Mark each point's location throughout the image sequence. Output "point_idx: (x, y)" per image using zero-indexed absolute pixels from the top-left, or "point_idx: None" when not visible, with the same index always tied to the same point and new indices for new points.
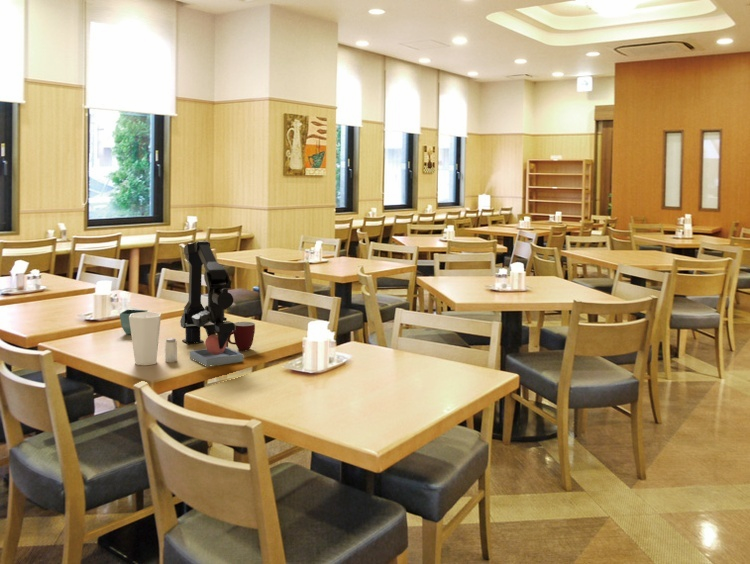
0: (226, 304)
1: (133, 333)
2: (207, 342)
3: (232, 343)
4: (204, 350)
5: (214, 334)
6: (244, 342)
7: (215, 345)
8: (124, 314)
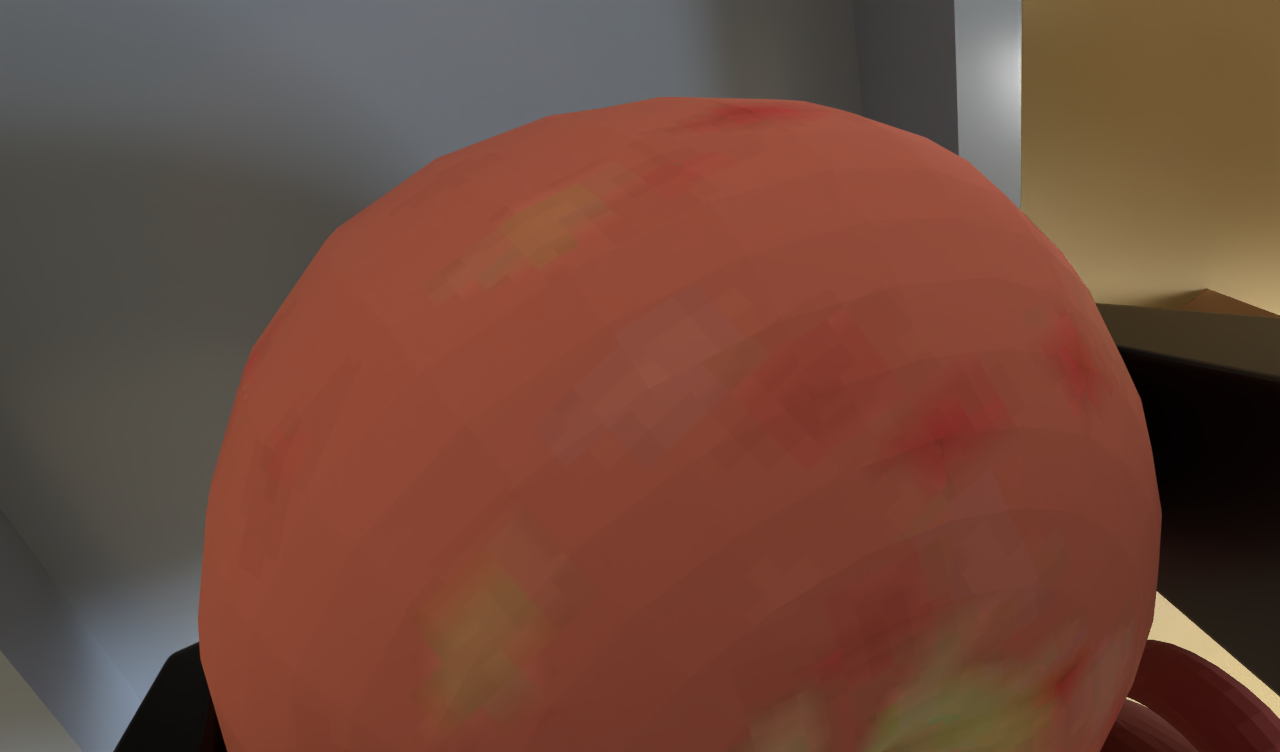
0: None
1: None
2: (552, 216)
3: None
4: (942, 74)
5: (1244, 618)
6: None
7: (205, 572)
8: None
